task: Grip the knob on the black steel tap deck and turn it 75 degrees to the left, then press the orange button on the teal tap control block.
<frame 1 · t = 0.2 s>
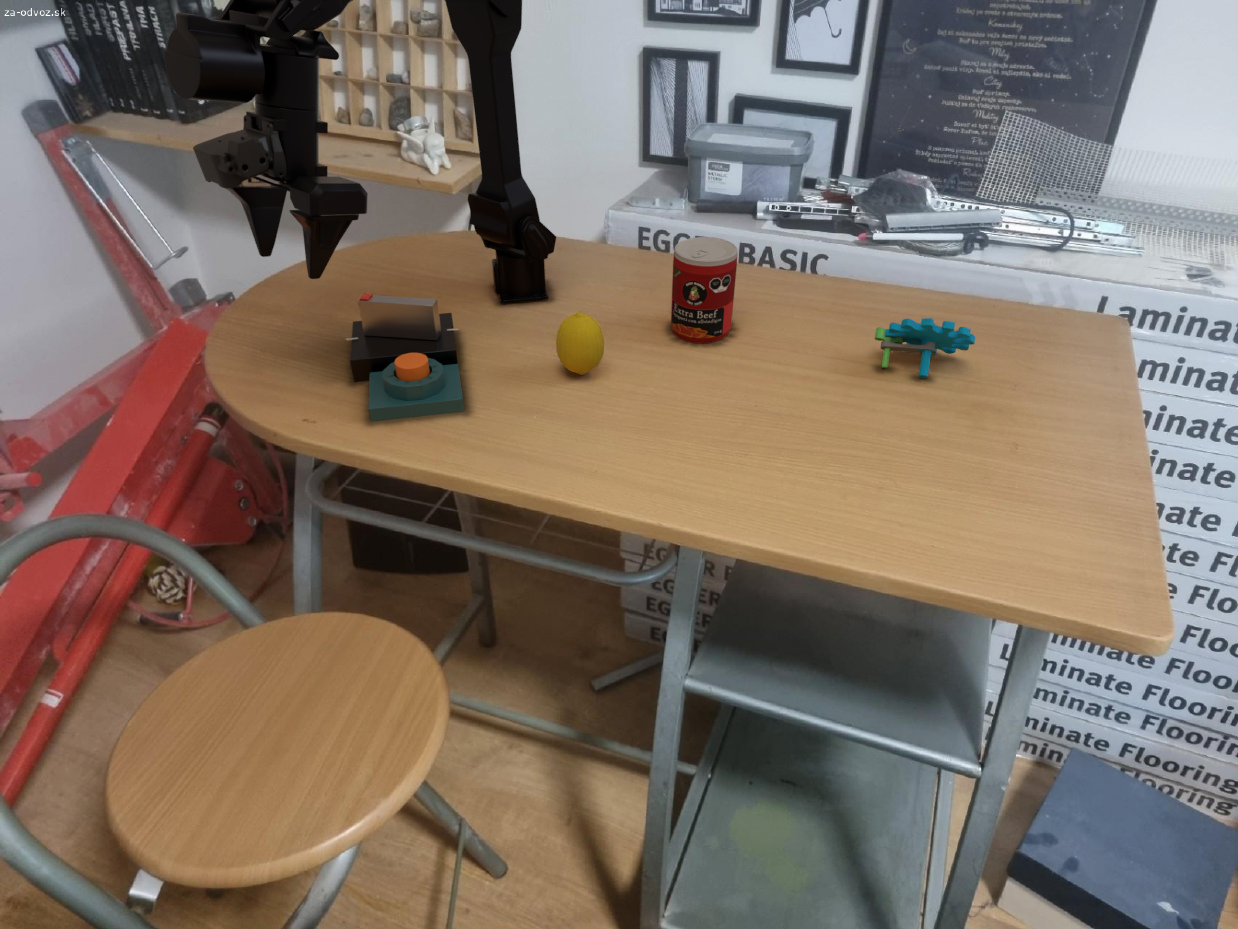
hand: (289, 267, 90), 15 cm above the table, tool pointing down, fingers open, 9 cm apart
lemon: (581, 376, 103), on the table
button: (412, 367, 96), point 4 cm above the table, slide at 0.1 cm
gear: (917, 366, 105), on the table
canned food: (700, 331, 112), on the table
control block: (417, 398, 98), on the table
tap deck: (406, 357, 106), on the table
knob: (400, 316, 103), point 5 cm above the table, hinge at -20.0°
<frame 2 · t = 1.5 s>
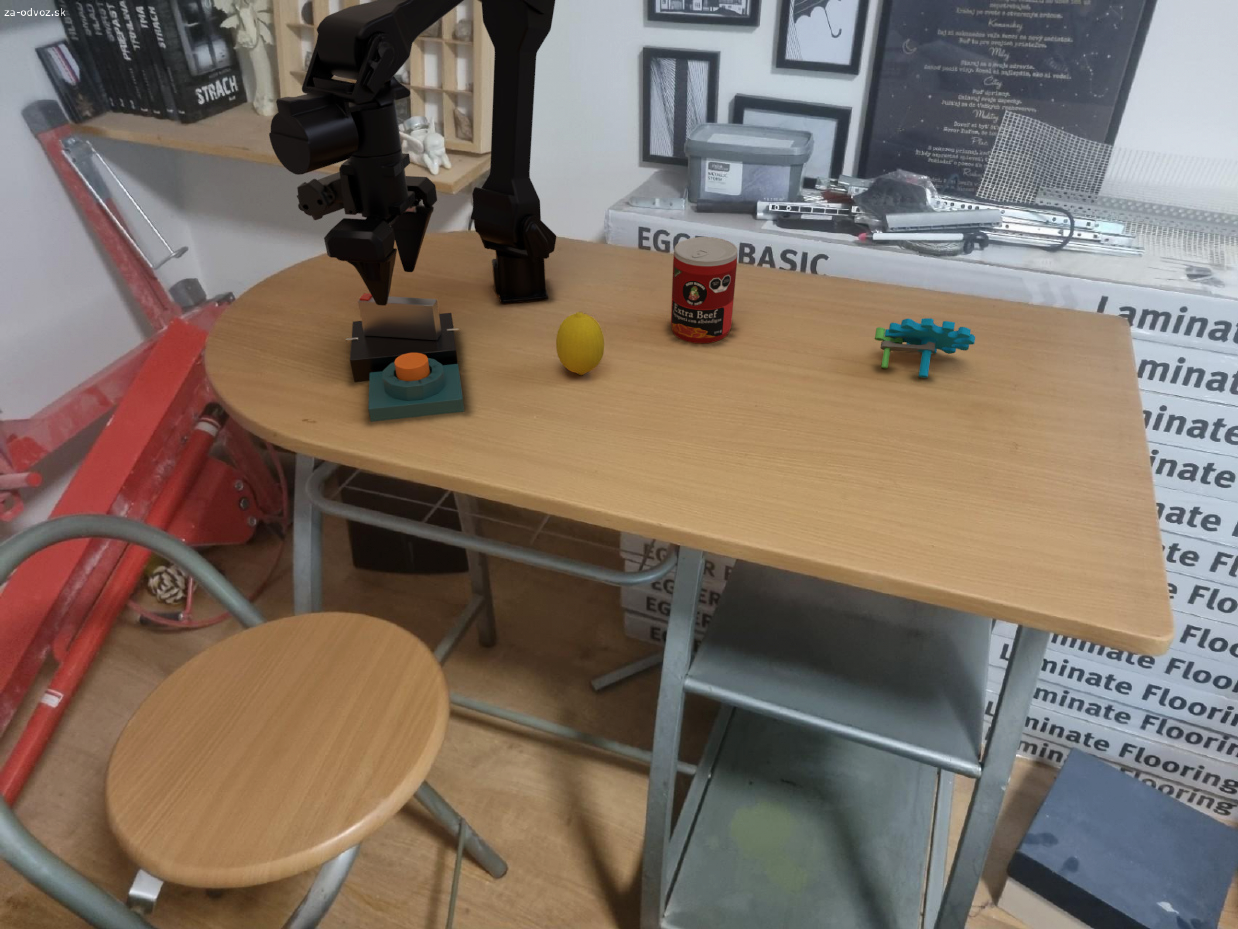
hand: (396, 287, 101), 9 cm above the table, tool pointing down, fingers open, 9 cm apart
nothing on the table moved.
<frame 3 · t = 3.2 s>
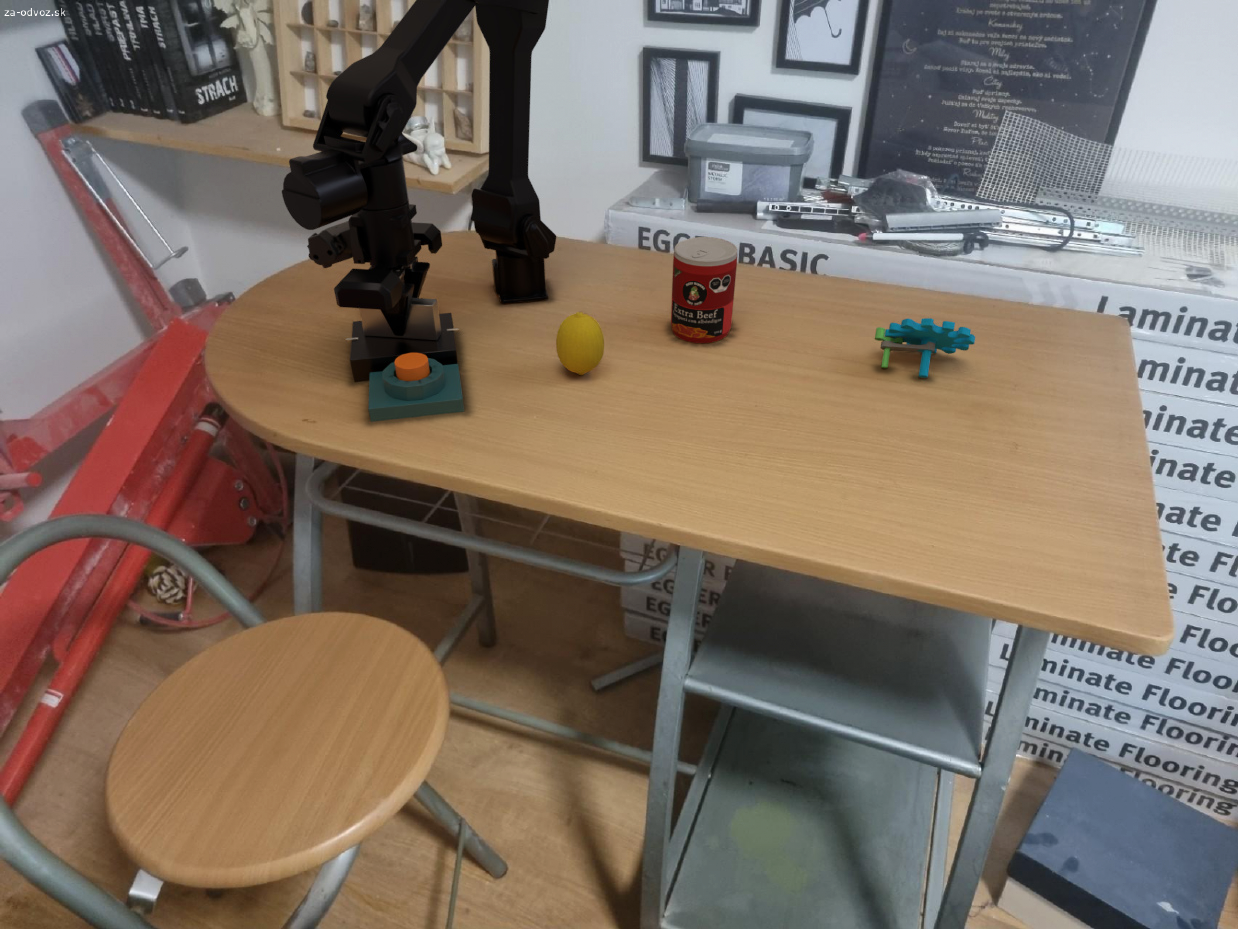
hand: (402, 331, 104), 4 cm above the table, tool pointing down, fingers closed on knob, 2 cm apart
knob: (400, 316, 103), point 5 cm above the table, hinge at -20.0°, touching gripper
everything else where it was.
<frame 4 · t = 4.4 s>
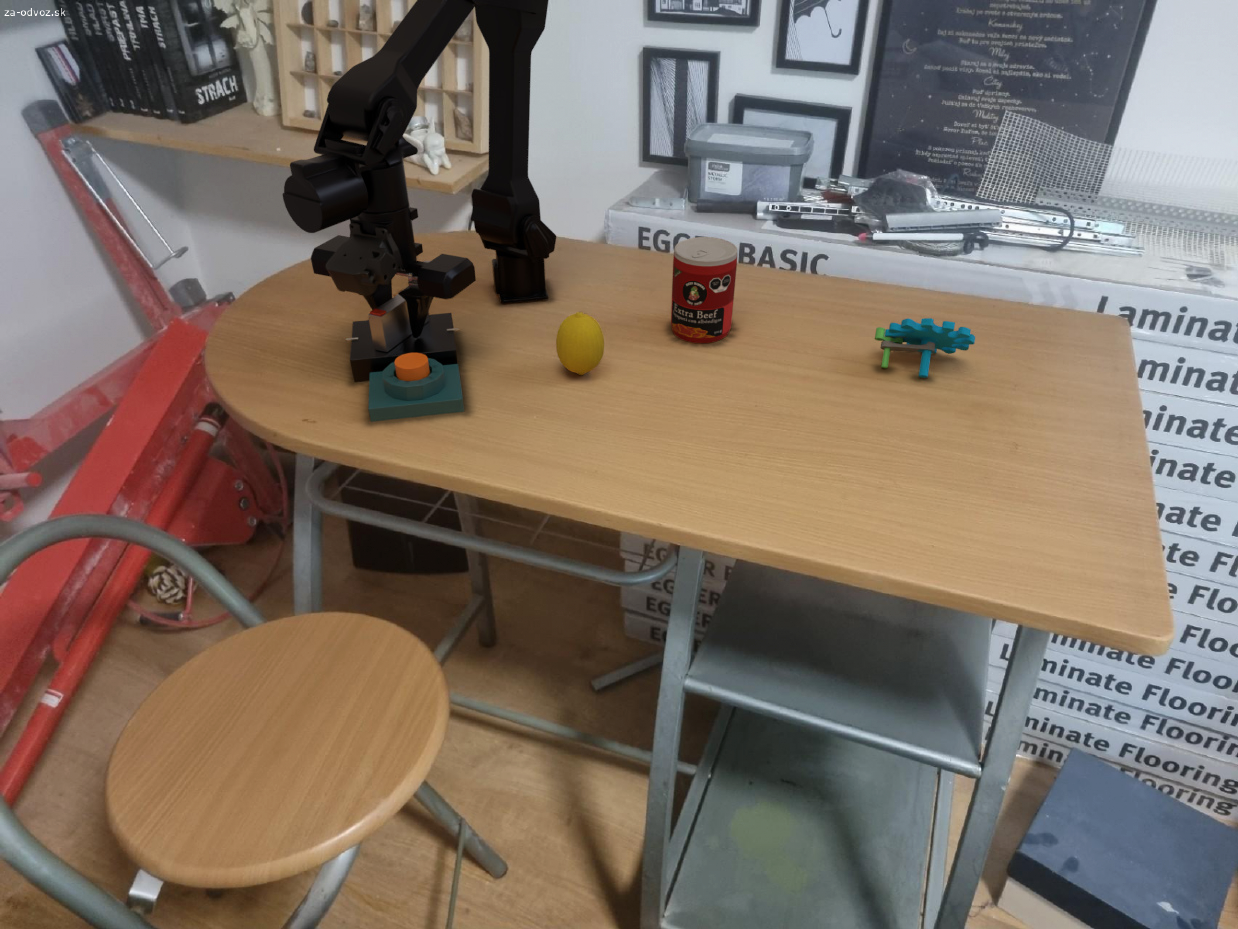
hand: (402, 333, 104), 3 cm above the table, tool pointing down, fingers open, 4 cm apart
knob: (400, 316, 103), point 5 cm above the table, hinge at 54.9°
everything else where it was.
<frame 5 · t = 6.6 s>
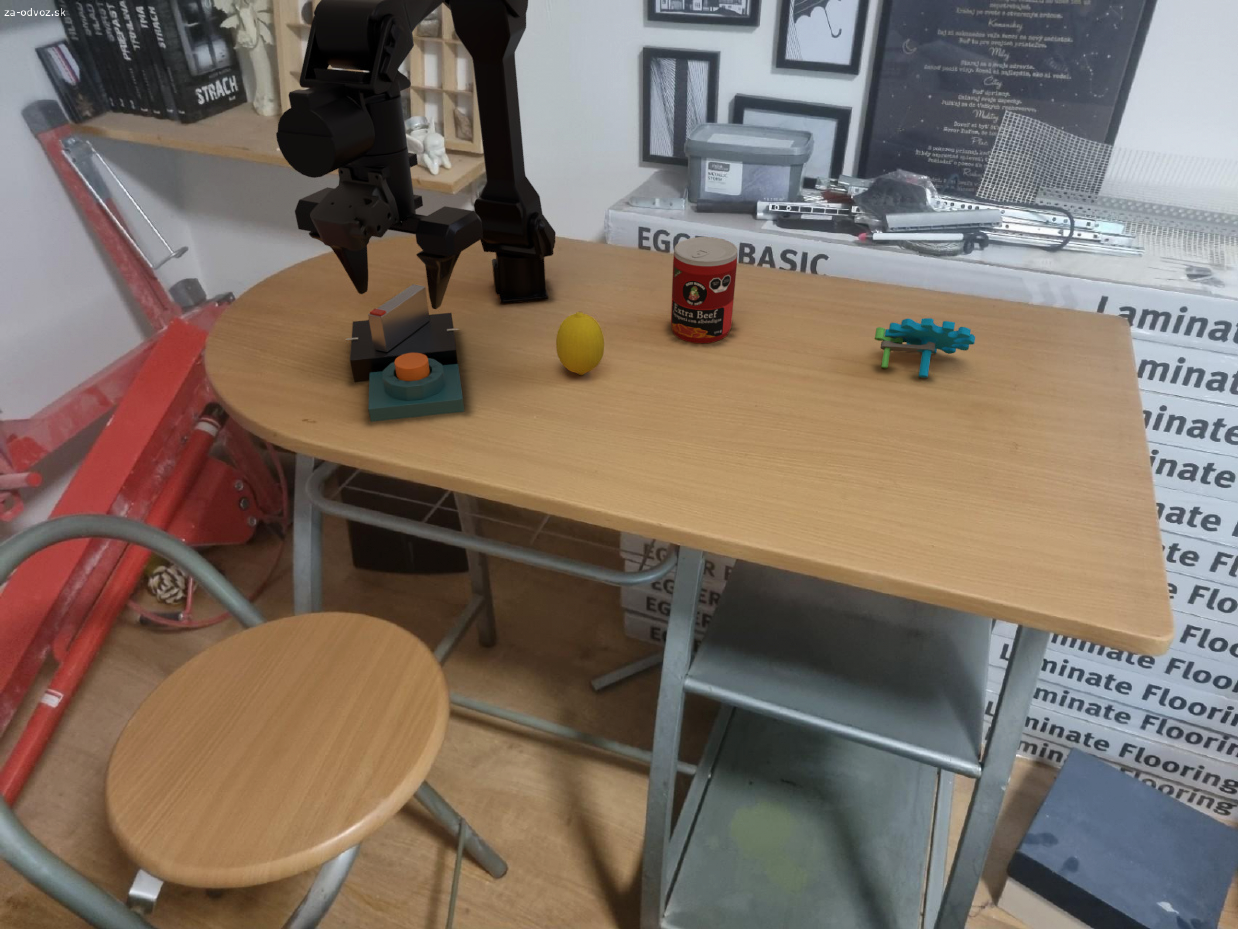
hand: (399, 300, 91), 12 cm above the table, tool pointing down, fingers open, 9 cm apart
nothing on the table moved.
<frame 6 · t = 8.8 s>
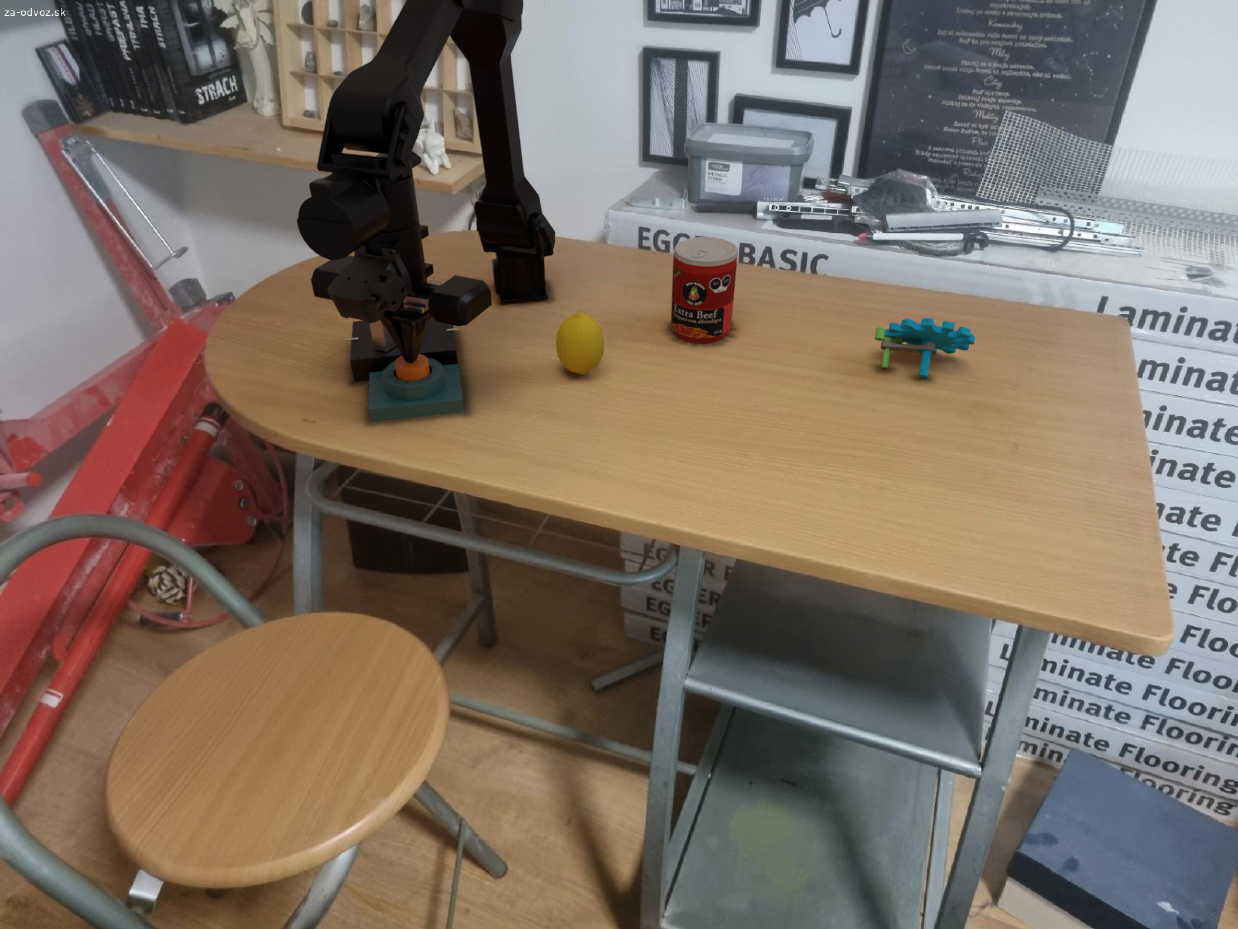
hand: (411, 361, 95), 5 cm above the table, tool pointing down, fingers closed, pressing on button
button: (412, 368, 96), point 4 cm above the table, slide at 0.0 cm, touching gripper
everything else where it was.
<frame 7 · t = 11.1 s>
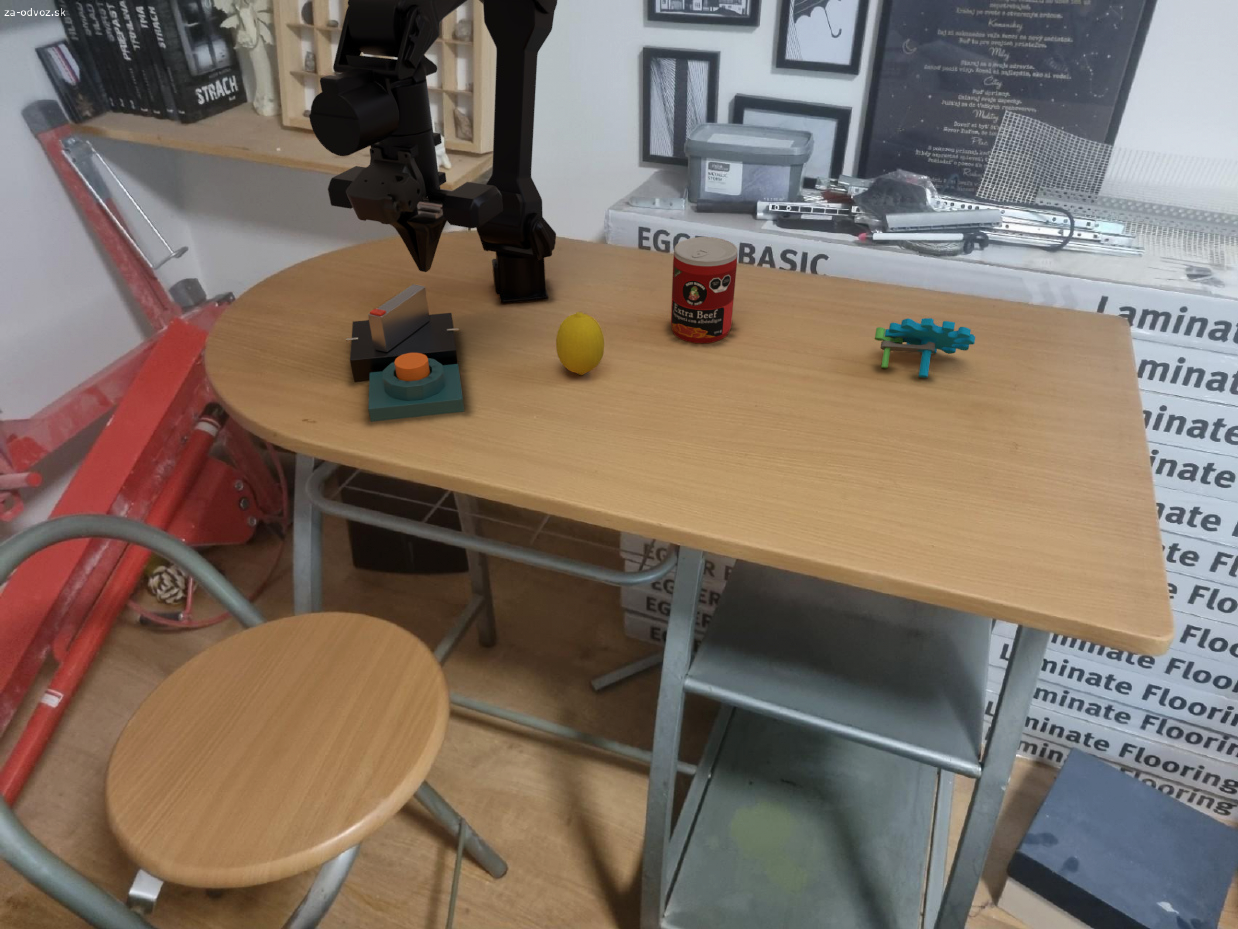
hand: (425, 270, 99), 11 cm above the table, tool pointing down, fingers closed
button: (412, 367, 96), point 4 cm above the table, slide at 0.1 cm
everything else where it was.
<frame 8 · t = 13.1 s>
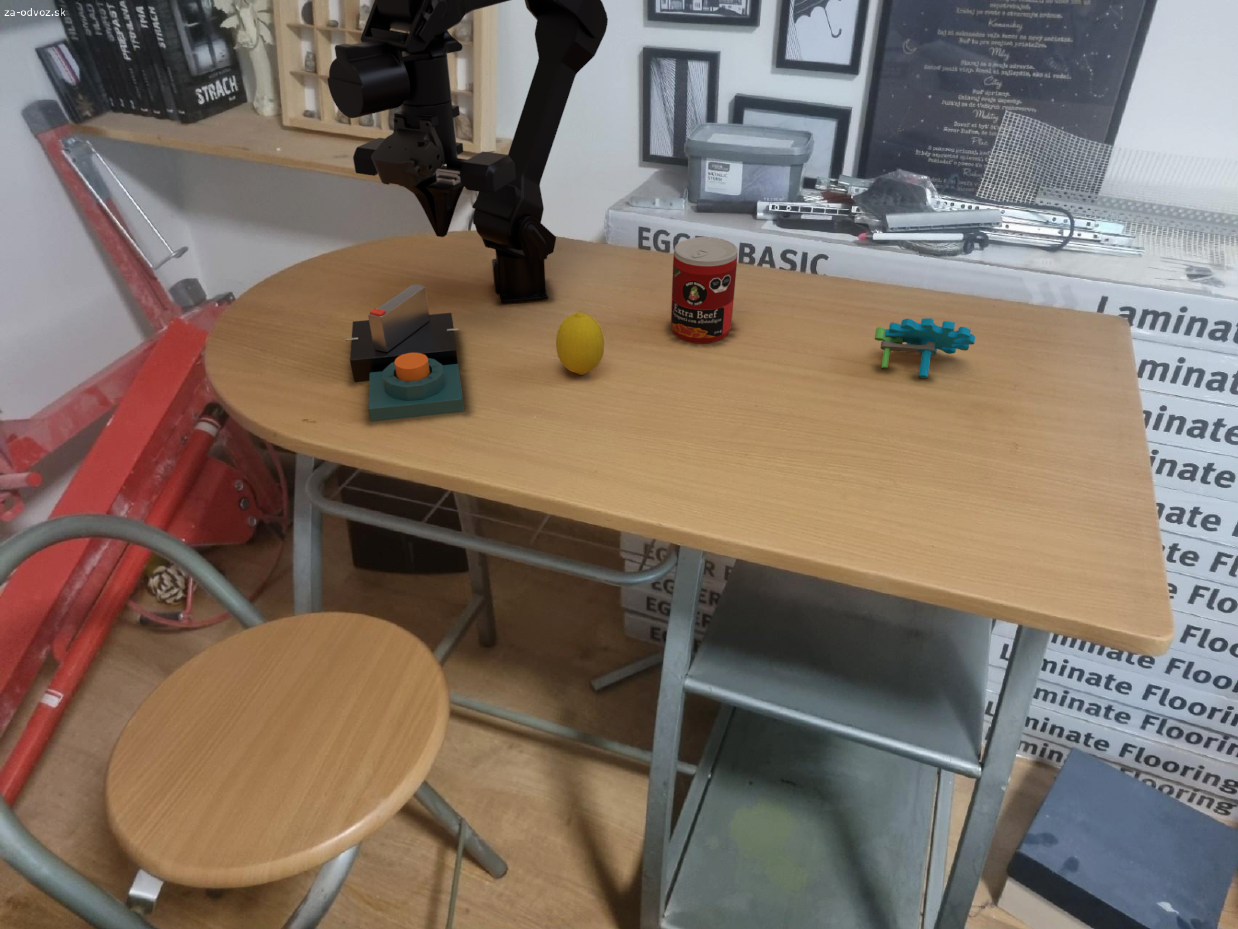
hand: (441, 235, 106), 12 cm above the table, tool pointing down, fingers closed
nothing on the table moved.
at the end: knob at +55° (first picture: -20°); button pushed in 1.1 cm at the most during the clip, back to where it started at the end; button slide at 0.1 cm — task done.
